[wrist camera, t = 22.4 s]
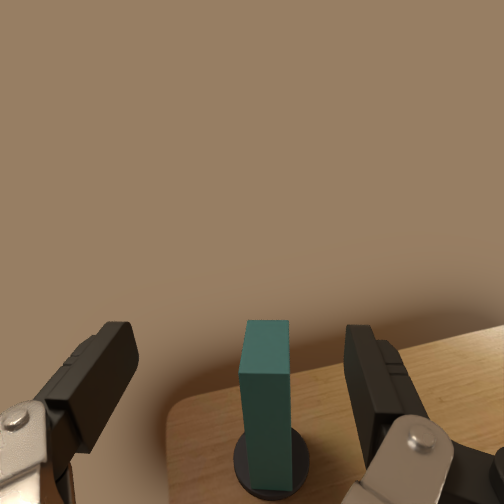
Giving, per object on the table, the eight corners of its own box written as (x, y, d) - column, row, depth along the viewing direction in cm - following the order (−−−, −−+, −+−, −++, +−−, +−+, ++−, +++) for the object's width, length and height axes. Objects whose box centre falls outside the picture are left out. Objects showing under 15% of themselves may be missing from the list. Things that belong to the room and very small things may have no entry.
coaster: (228, 498, 27) (227, 493, 27) (238, 423, 33) (238, 419, 33) (312, 503, 26) (312, 498, 26) (306, 426, 33) (306, 422, 32)
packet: (250, 489, 27) (238, 372, 22) (256, 425, 33) (247, 319, 27) (292, 491, 27) (289, 373, 21) (291, 426, 32) (288, 319, 27)
